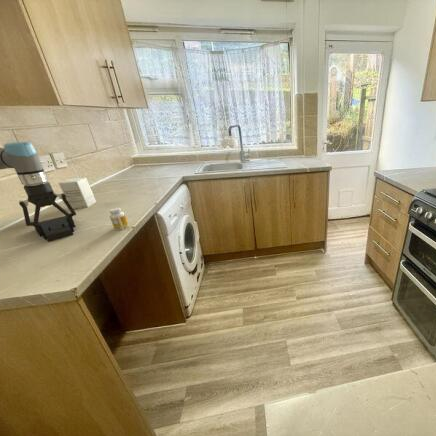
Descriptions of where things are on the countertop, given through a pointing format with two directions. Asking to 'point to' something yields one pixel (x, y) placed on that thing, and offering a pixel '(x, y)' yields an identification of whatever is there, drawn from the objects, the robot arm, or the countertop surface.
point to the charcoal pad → (54, 224)
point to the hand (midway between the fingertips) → (59, 235)
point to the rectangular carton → (78, 192)
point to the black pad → (58, 233)
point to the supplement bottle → (118, 219)
